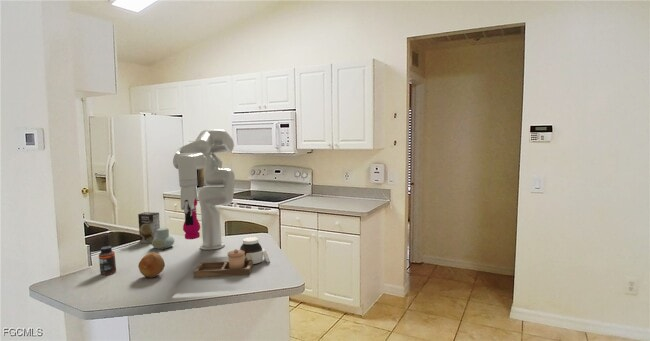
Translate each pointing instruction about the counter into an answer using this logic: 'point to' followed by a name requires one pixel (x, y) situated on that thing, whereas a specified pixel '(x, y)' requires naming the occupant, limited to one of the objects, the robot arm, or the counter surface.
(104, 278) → the counter surface
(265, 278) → the counter surface
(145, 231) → the coffee box
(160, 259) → the onion
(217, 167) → the robot arm
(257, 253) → the spread jar
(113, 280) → the counter surface
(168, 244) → the air freshener
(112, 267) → the supplement bottle
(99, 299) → the counter surface
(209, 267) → the caddy
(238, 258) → the salt crock
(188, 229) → the pepper mill
